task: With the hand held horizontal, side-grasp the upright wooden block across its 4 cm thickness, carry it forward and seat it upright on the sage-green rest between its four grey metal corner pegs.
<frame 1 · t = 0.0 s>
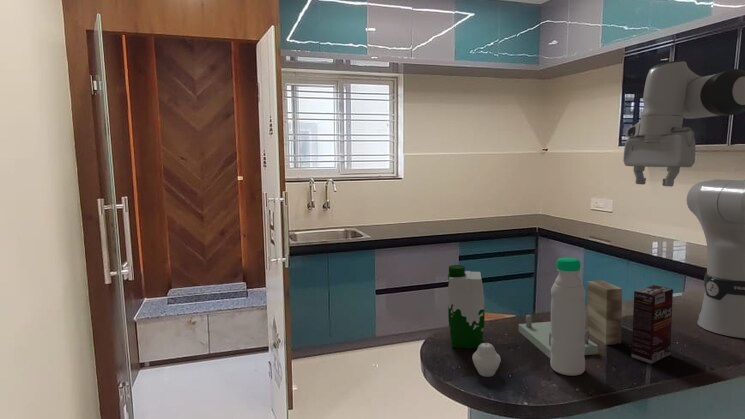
hand: (653, 185, 113), 39 cm above the table, tool pointing down, fingers open, 8 cm apart
milk carton: (466, 343, 117), on the table
water bottle: (567, 370, 100), on the table
white bulb shape: (486, 374, 100), on the table
upright wooden block: (603, 337, 117), on the table
peg rest: (555, 341, 115), on the table
supplement box: (651, 357, 105), on the table
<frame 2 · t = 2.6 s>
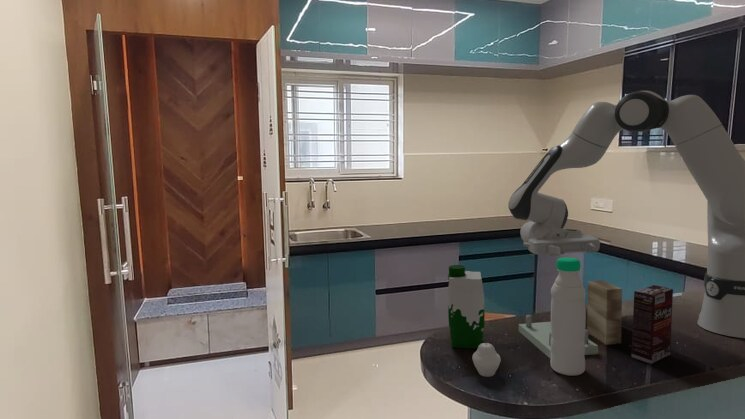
hand: (577, 250, 126), 20 cm above the table, tool horizontal, fingers open, 8 cm apart
nothing on the table moved.
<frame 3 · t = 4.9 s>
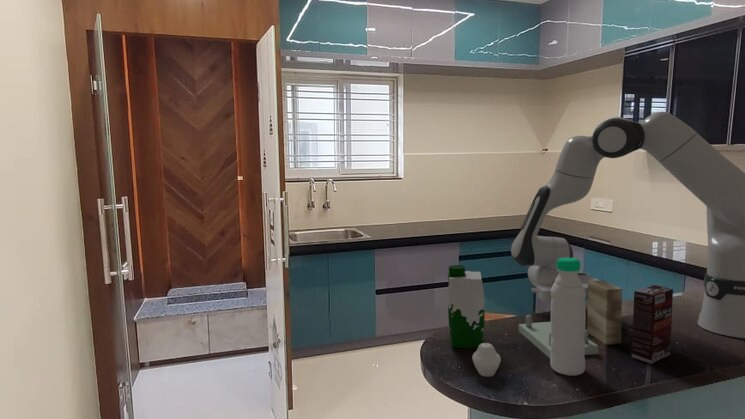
hand: (588, 299, 123), 8 cm above the table, tool horizontal, fingers open, 8 cm apart
nothing on the table moved.
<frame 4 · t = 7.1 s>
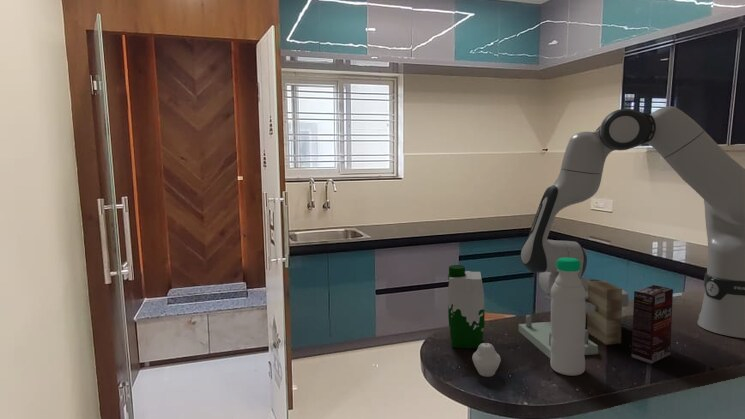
hand: (606, 308, 115), 8 cm above the table, tool horizontal, fingers closed on upright wooden block, 4 cm apart
upright wooden block: (603, 337, 117), on the table, touching gripper
everything else where it was.
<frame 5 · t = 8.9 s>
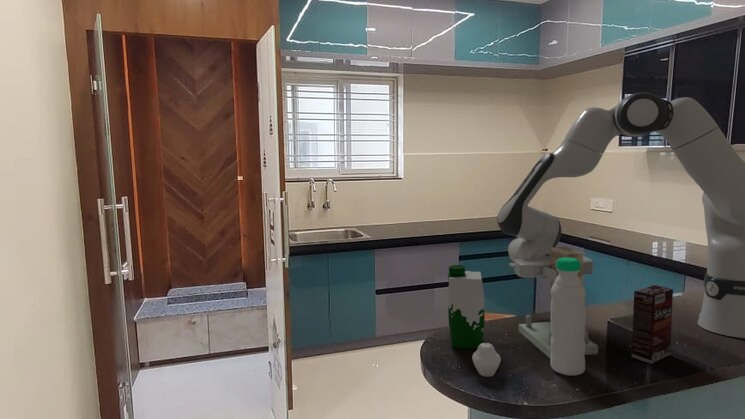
hand: (568, 274, 113), 17 cm above the table, tool horizontal, fingers closed on upright wooden block, 4 cm apart
upright wooden block: (565, 304, 115), point 9 cm above the table, touching gripper
everything else where it was.
when the fingers open (11 cm above the table, at t = 10.8 s): upright wooden block drops 1 cm, resting on peg rest.
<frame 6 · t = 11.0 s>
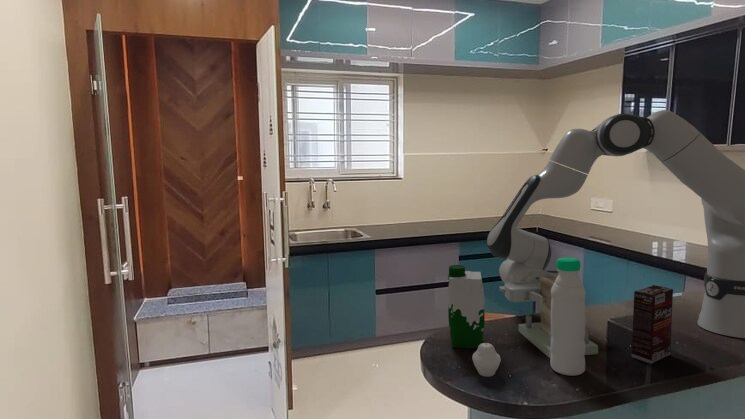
hand: (557, 299, 113), 11 cm above the table, tool horizontal, fingers open, 6 cm apart
upright wooden block: (555, 334, 115), point 2 cm above the table, touching peg rest
everything else where it was.
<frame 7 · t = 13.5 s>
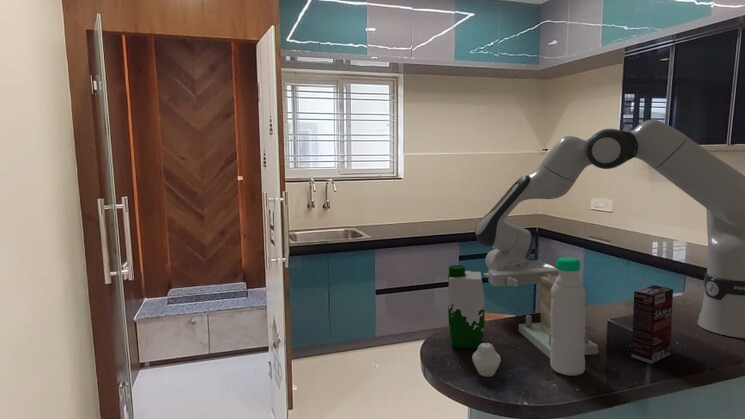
hand: (534, 282, 126), 12 cm above the table, tool horizontal, fingers open, 8 cm apart
nothing on the table moved.
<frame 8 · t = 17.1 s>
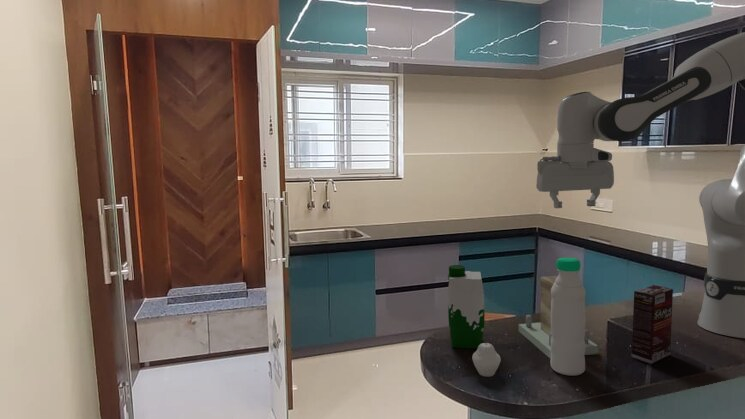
hand: (574, 207, 122), 33 cm above the table, tool pointing down, fingers open, 8 cm apart
nothing on the table moved.
at the end: upright wooden block 0.1 cm from the peg rest (horizontally); upright wooden block tilted 0°; the gripper is holding nothing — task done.
